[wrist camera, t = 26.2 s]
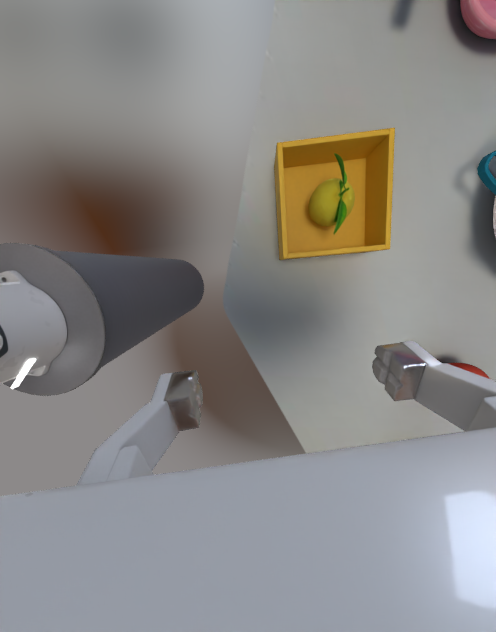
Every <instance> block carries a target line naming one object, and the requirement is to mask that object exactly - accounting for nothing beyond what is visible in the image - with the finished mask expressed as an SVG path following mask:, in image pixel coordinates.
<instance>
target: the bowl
mask: <svg viewBox="0 0 496 632" xmlns="http://www.w3.org/2000/svg"><path fill="white" fill-rule="evenodd" d="M493 225H494V233H495V238H496V197H495V202H494V211H493Z"/></svg>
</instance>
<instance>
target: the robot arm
mask: <svg viewBox="0 0 496 632" xmlns="http://www.w3.org/2000/svg"><path fill="white" fill-rule="evenodd" d="M66 340H67V326H66V321H65V318H64V316H63V313H62V311H61V310H60V308H59V306H58V305H57V304H56V302H55V301H54V300H53V299H52V298H51V297H50V296H49V295H47V294H46V293H45V292H43V291H42V290H40V289H38V288H36V287H34V286H33V285H31V284H29V283H28V282H27V281H26V279H25V278H24V277H23V276H22V275H21V274H20V273H18V272H17V271H14V270H11V271H5V272H2V273H0V384H2V383H4V382H7V381H9V380H12V379H14V378H17V377H18V378H17V379H16V381H15V382H14V384H13V385H12V387H11V388H12V389H13V388H15V387H17V386H19V384H20V383H21V381H22V380H23V378H24V377H25V375H31V376H41V375H44V374H46V373H47V372H48V370H49V367H50V365H51V362H52V361H53V360H54V359H55V358H56V357H57V356H58V355H59V354H60V353H61V352H62V350H63V348H64V346H65V344H66ZM375 354H376V356H377V357H376V358H375V359H374V361H373V365H372V368H373V373H374V375H375V377H376V379H377V380H378V381H379V382H381V383H383V384H385V390H386V391H387V393H388V394H389V395H390V396H391V398H392V399H393V400H394V401H400V400H409V399H415V401H417V402H419V403H420V404H422V405H424V406H425V407H427V408H428V409H430V410H432V411H433V412H435V413H437V414H438V415H440V416H441V417H443V418H445V419H446V420H448V421H450V422H451V423H453V424H454V425H456V426H458V427H459V428H461V429H463V430H464V431H466V432H459V433H451V434H444V435H437V436H430V437H423V438H415V439H408V440H401V441H394V442H387V443H380V444H373V445H365V446H358V447H351V448H344V449H337V450H329V451H322V452H315V453H308V454H300V455H293V456H286V457H279V458H272V459H264V460H258V461H250V462H243V463H235V464H229V465H221V466H214V467H207V468H200V469H192V470H185V471H178V472H171V473H163V474H156V475H154V474H153V473H152V470H153V468H154V467H155V466H156V464H157V463H158V461H159V460H160V458H161V457H162V456H163V454H164V453H165V452H166V450H167V449H168V447H169V446H170V445H171V443H172V442H173V440H174V439H175V438H176V436H177V434H178V433H179V431H183V430H189V429H195V428H199V425H200V417H201V413H200V410H199V408H200V407H201V406H202V401H203V397H202V388H201V384H199V383H198V374H197V371H195V370H194V371H184V372H175V373H168V374H162V375H161V376H160V377H159V380H158V383H157V386H156V388H155V391H154V393H153V396H152V399H151V401H150V403H148V404H146V405H144V406H143V407H142V408H141V409H140V410H139V411H138V412H137V413H136V414H135V415H133V416H132V417H131V418H130V419H129V420H128V421H127V422H125V423H124V424H123V425H122V426H121V427H120V428H119V429H118V430H116V431H115V432H114V433H113V434H112V435H111V436H110V437H109V438H108V439H106V440H105V442H103V443H102V444H101V445H100V446H99V447H98V448H96V449H95V451H94V453H93V454H92V456H91V458H90V460H89V462H88V464H87V466H86V468H85V470H84V472H83V474H82V475H81V477H80V479H79V481H78V483H77V485H76V486H70V487H63V488H55V489H49V490H41V491H34V492H27V493H20V494H12V495H5V496H0V632H496V381H494V380H491V379H488V378H486V377H483V376H480V375H477V374H475V373H472V372H469V371H466V370H463V369H461V368H458V367H455V366H452V365H450V364H447V363H443V364H442V363H441V362H440V361H438V360H437V359H436V358H435V357H433V356H432V355H431V354H430V353H428V352H427V351H426V350H425V349H423V348H422V347H421V346H420V345H418V344H417V343H416V342H414V341H406V342H400V343H394V344H387V345H380V346H377V347H376V349H375Z"/></svg>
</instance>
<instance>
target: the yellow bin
mask: <svg viewBox="0 0 496 632" xmlns="http://www.w3.org/2000/svg"><path fill="white" fill-rule="evenodd" d="M394 137H395V128H390V129H381V130H373V131H365V132H358V133H350V134H342V135H334V136H327V137H319V138H311V139H303V140H295V141H288V142H280V143H277V148H276V156H275V164H274V173H275V191H276V208H277V225H278V243H279V260H285V259H296V258H307V257H318V256H329V255H340V254H351V253H362V252H371V251H379V250H387V249H390V238H391V213H392V187H393V162H394ZM334 153H335V154H338V155H339V156H340V157H341V158H342V160H343V163H344V170H345V172H346V175H347V182H348V183H349V184H350V185H351V186H352V188H353V190H354V194H355V201H354V206H353V209H352V211H351V213H350V214H349V215H348V216H347V217H346V219H345V220H344V221H343V223H342V225H341V226H340V228H339V229H338V230H337V232H336V233H335V235H334V229H335V226H336V225H335V226H330V227H326V226H321V225H319V224H317V223H316V222H314V221H313V220H312V218H311V216H310V215H309V209H308V205H309V200H310V198H311V195H312V193H313V192H314V190H315V189H316V188H317V187H318V185H320V184H321V183H323V182H324V181H326V180H329V179H333V178H338V179H342V174H341V170H340V166H339V163H338V161H337V159H336V157H335V155H334Z"/></svg>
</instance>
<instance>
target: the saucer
mask: <svg viewBox="0 0 496 632" xmlns="http://www.w3.org/2000/svg"><path fill="white" fill-rule="evenodd" d="M460 6H461V13H462V16H463V19H464V21H465V23H466V25H467V26H468V28H469V29H470V30H471V31H472V32H473V33H475V34H476V35H478V36H480V37H483V38H487V39H496V0H460Z"/></svg>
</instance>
